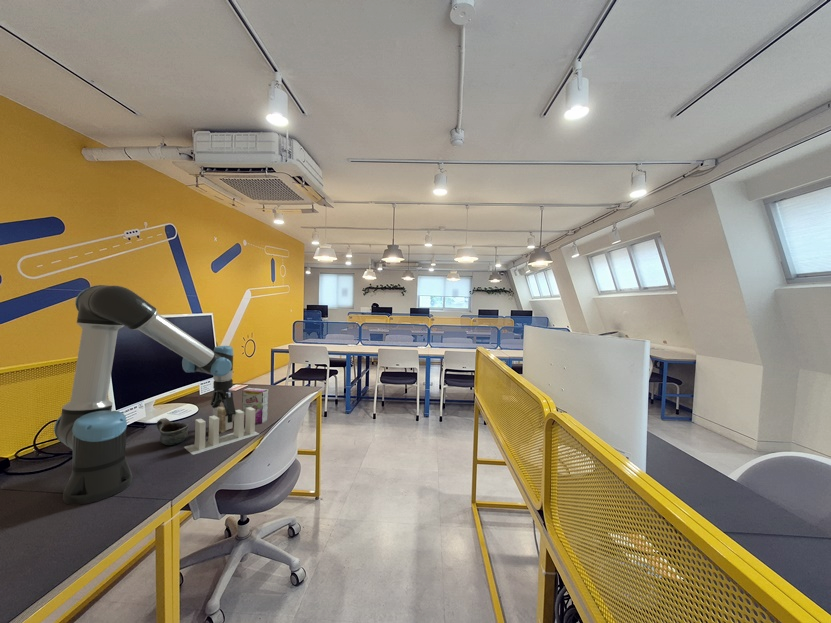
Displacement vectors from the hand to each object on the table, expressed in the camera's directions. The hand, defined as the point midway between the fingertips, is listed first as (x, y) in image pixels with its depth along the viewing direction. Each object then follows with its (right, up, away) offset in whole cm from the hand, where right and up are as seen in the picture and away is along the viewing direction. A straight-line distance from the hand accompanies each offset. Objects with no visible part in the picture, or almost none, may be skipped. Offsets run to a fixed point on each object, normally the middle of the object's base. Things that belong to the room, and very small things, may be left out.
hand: (222, 425), depth 142 cm
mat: (+7, -3, -9) cm, 12 cm away
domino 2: (+4, -3, -13) cm, 14 cm away
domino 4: (+13, -3, -1) cm, 13 cm away
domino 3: (+10, -3, -5) cm, 11 cm away
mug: (-14, -3, -13) cm, 19 cm away
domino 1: (+1, -3, -17) cm, 17 cm away
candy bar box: (+8, -3, +13) cm, 16 cm away
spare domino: (0, -3, 0) cm, 3 cm away
